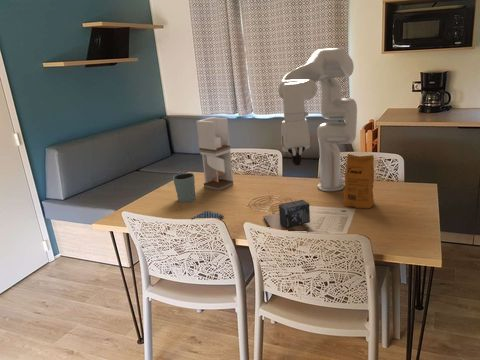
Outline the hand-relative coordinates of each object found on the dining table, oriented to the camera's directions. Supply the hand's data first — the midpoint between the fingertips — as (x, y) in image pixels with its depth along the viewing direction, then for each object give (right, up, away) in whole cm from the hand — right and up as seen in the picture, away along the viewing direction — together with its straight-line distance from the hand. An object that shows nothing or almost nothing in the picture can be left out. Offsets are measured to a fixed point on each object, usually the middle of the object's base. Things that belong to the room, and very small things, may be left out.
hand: (296, 164), depth 154 cm
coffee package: (+29, -17, +18) cm, 38 cm away
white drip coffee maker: (-33, -9, +59) cm, 68 cm away
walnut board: (-4, -24, +4) cm, 24 cm away
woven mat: (-35, -23, +17) cm, 45 cm away
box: (+4, -18, +3) cm, 19 cm away
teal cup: (-48, -16, +43) cm, 66 cm away
